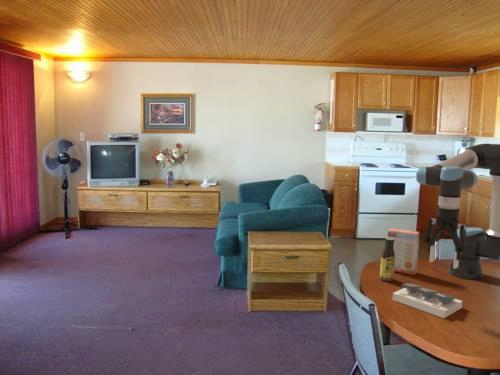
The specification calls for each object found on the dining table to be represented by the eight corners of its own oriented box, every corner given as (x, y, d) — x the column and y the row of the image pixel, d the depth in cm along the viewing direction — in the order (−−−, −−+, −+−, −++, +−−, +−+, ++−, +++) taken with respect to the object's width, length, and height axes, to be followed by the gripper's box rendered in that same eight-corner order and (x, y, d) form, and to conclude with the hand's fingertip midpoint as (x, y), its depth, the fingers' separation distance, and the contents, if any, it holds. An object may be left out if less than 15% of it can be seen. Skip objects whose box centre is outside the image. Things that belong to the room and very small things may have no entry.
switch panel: (411, 291, 193) (412, 282, 192) (461, 308, 176) (462, 298, 175) (392, 299, 183) (393, 290, 182) (443, 318, 166) (444, 308, 166)
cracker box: (416, 272, 217) (420, 231, 214) (414, 275, 212) (417, 234, 209) (388, 266, 224) (391, 227, 221) (385, 270, 219) (387, 229, 216)
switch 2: (443, 296, 178) (444, 293, 178) (454, 300, 175) (455, 296, 175) (433, 297, 172) (434, 293, 172) (444, 301, 169) (445, 297, 169)
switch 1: (411, 286, 189) (412, 283, 189) (421, 289, 185) (422, 286, 185) (401, 286, 183) (402, 283, 183) (411, 290, 179) (411, 286, 179)
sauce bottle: (386, 282, 202) (389, 241, 199) (376, 278, 208) (379, 237, 205) (396, 280, 205) (399, 239, 202) (386, 276, 211) (389, 236, 208)
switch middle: (427, 291, 183) (428, 288, 183) (437, 294, 180) (438, 291, 180) (416, 292, 177) (417, 288, 177) (427, 295, 174) (427, 291, 174)
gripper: (417, 203, 171) (412, 259, 175) (473, 213, 155) (467, 274, 159) (426, 201, 176) (422, 255, 180) (482, 210, 160) (476, 269, 164)
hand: (443, 264), depth 169 cm, fingers open, 9 cm apart
